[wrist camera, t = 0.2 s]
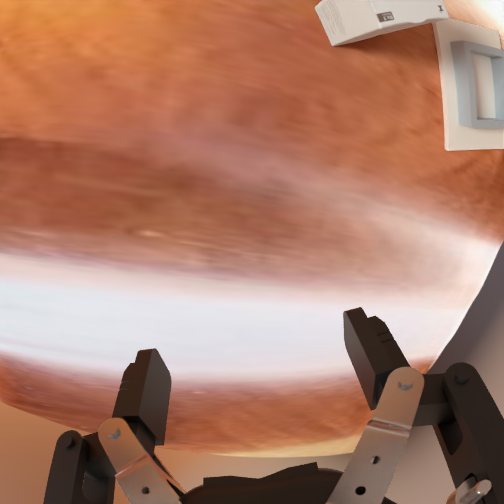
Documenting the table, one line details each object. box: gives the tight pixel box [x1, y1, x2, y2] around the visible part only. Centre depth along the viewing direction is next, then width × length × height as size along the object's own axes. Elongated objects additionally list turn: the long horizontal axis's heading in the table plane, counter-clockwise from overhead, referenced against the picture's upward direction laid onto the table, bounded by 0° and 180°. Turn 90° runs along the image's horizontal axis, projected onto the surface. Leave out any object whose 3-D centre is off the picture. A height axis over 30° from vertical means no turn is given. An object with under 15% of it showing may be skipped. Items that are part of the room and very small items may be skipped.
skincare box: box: [315, 0, 450, 46], centre depth 23 cm, size 8×6×15 cm
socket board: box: [432, 19, 504, 151], centre depth 32 cm, size 20×14×4 cm
